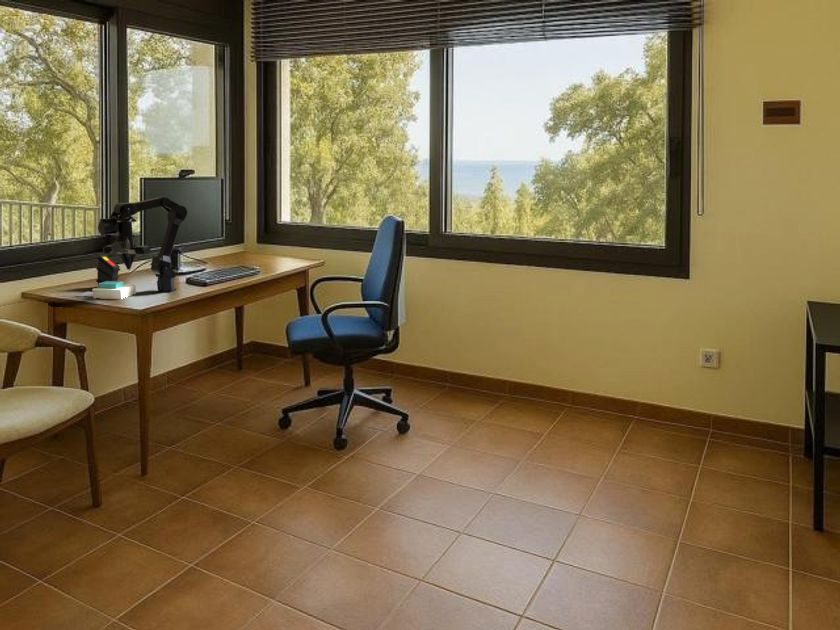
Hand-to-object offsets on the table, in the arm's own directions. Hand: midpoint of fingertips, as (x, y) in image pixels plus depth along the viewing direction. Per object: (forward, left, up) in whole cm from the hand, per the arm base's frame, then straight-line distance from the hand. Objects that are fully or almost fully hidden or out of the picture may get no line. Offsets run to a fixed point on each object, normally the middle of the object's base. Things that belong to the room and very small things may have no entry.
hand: (128, 269), depth 318 cm
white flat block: (+8, -1, -12) cm, 14 cm away
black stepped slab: (+20, -16, -12) cm, 28 cm away
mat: (+20, -2, -12) cm, 23 cm away
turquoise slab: (+9, 0, -8) cm, 12 cm away
